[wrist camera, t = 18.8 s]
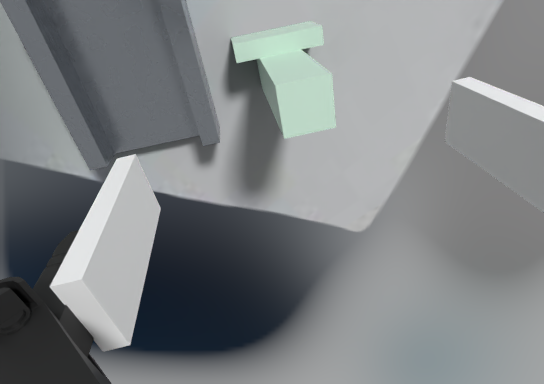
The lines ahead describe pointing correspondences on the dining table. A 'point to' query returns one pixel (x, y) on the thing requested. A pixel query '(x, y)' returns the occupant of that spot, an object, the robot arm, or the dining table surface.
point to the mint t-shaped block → (291, 76)
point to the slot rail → (119, 71)
